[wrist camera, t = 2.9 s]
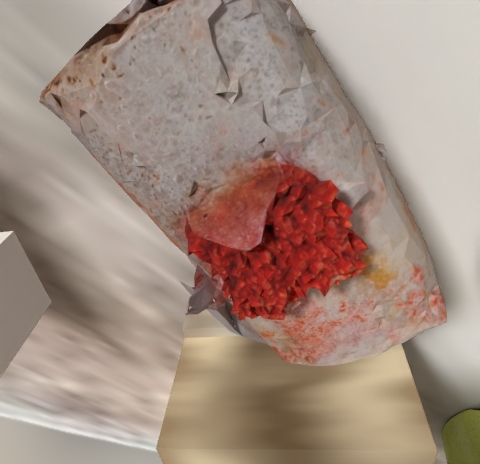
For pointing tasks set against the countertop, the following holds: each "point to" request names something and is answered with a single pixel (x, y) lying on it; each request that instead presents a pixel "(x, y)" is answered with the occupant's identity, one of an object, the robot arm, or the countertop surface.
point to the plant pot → (462, 438)
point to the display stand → (288, 406)
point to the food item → (254, 174)
